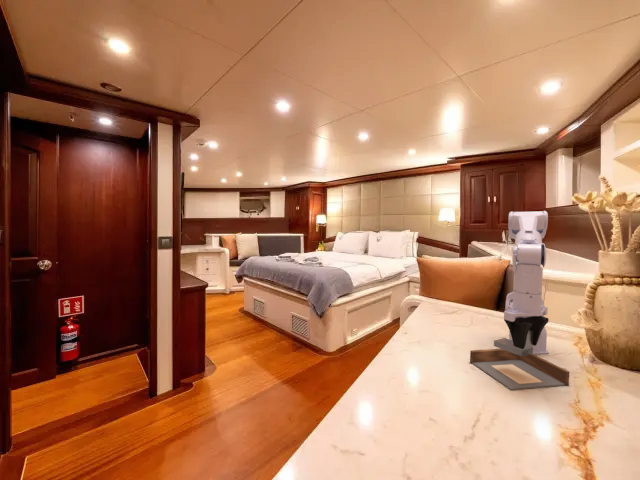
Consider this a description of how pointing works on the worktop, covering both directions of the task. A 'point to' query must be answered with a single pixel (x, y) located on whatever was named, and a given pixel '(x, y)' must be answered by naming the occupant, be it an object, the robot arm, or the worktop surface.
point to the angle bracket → (510, 347)
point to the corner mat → (517, 374)
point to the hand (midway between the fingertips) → (525, 345)
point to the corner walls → (529, 359)
